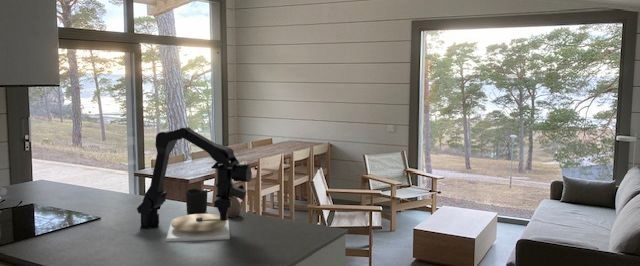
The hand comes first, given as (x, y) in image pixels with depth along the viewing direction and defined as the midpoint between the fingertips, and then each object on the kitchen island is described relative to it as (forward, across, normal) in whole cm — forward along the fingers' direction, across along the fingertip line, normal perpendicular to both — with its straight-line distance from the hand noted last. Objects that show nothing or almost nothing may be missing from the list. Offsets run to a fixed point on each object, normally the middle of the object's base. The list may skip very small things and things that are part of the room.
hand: (224, 219), depth 203 cm
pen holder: (+6, +33, +15) cm, 36 cm away
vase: (+6, +26, -2) cm, 27 cm away
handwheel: (+4, +3, +10) cm, 11 cm away
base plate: (+6, +3, +10) cm, 12 cm away
